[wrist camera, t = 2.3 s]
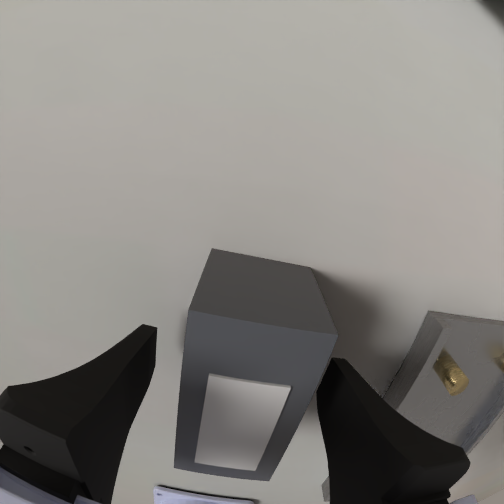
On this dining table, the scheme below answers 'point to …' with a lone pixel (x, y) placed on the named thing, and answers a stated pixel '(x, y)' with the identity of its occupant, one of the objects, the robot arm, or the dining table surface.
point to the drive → (249, 364)
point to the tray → (451, 380)
